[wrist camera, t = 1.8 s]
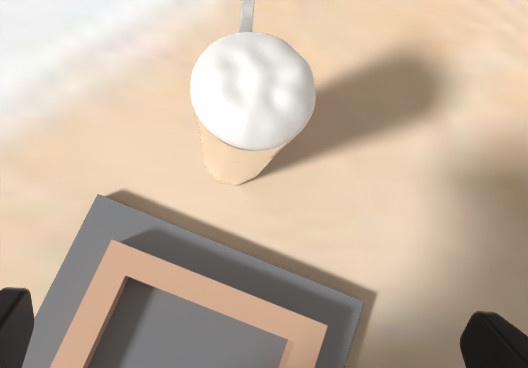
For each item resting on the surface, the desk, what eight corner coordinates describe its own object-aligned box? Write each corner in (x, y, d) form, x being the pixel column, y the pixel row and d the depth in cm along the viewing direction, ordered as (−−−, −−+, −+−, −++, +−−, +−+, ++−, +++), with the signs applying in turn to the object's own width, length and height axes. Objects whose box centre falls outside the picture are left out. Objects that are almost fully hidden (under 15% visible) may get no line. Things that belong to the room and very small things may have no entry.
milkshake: (266, 99, 25) (314, -23, 16) (280, 193, 24) (342, 123, 14) (184, 104, 24) (181, -21, 15) (194, 202, 23) (198, 134, 14)
